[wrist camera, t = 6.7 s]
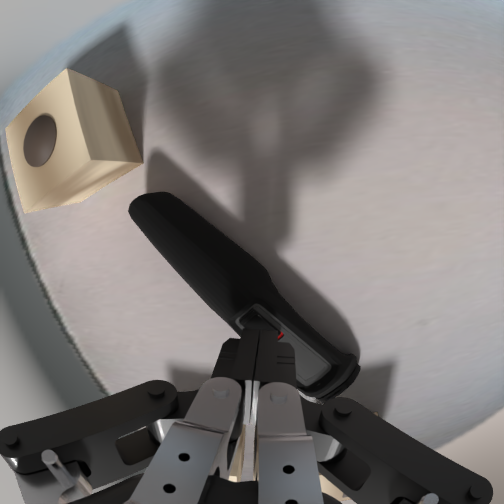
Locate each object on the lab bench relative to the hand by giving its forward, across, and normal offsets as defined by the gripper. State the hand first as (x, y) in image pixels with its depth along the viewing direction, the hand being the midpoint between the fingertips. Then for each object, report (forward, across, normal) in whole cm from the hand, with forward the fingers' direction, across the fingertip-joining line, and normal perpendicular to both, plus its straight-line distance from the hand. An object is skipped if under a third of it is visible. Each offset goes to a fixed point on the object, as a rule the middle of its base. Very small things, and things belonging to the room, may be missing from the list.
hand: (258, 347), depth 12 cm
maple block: (+4, +10, -9) cm, 14 cm away
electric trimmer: (+4, 0, 0) cm, 4 cm away
